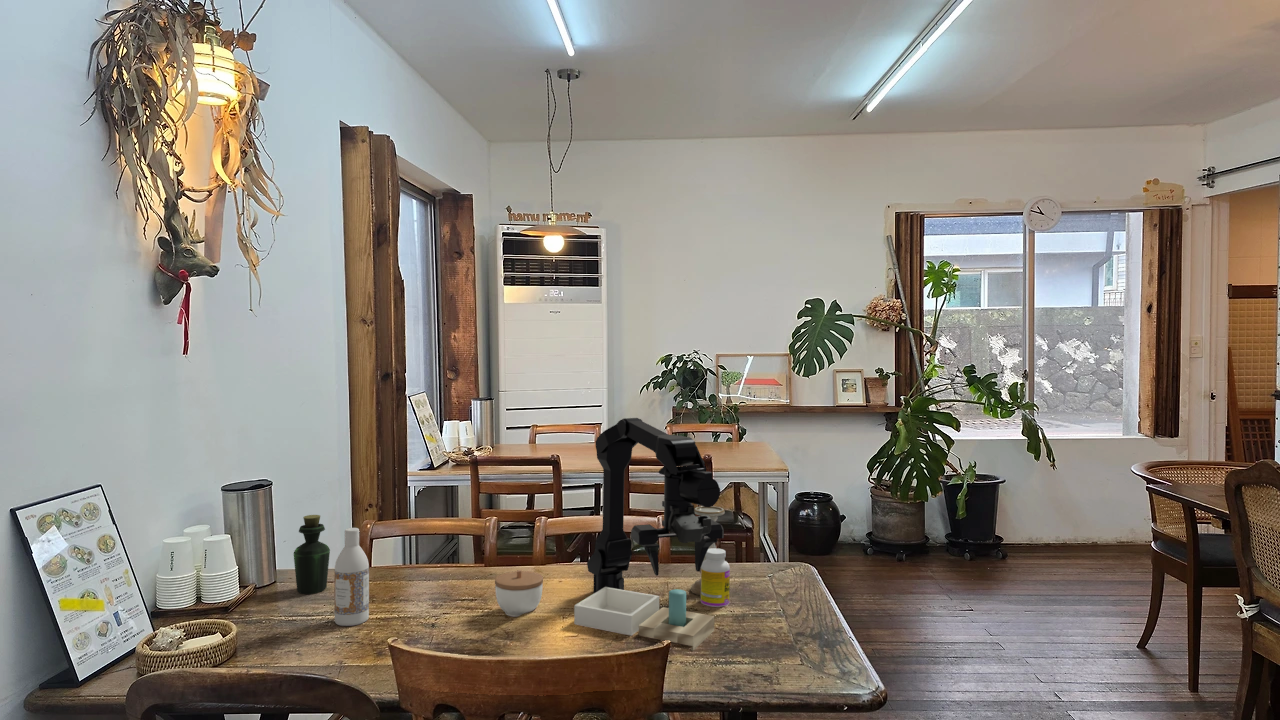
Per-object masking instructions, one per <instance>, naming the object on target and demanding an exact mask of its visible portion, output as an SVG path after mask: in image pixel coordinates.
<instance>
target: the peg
mask: <svg viewBox="0 0 1280 720" xmlns="http://www.w3.org/2000/svg"><path fill="white" fill-rule="evenodd" d="M668 608H669V624H670V625H675V626H681V627H685V626H686V611H687V591H685V590H684V589H680V588H679V589H671V590H669V591H668Z"/></svg>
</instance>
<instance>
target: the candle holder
mask: <svg viewBox="0 0 1280 720" xmlns="http://www.w3.org/2000/svg"><path fill="white" fill-rule="evenodd" d="M694 512H695V515H696V516H704V515H709V517H710V518H711V520H713V521H715V522H717V520H718V518H719V517H720V516H723V515H725V513H726V512H725V509H724V508H723V507H720V506H715V505H713V506H711V507H704V506H700V505H699V506H696V507H694ZM716 546H717V545H716V543H713V544H712V545H711V546H710V547H709V549H711V548H717V547H716ZM705 560H706V556H705V558H704V560H703V561H705ZM699 573H700V574H701V568H700V571H699ZM690 592H691V593H692V594H694V595H696V596H700V597H701V578H699V579H696V580H695V582H694V583H692V584H691V586H690Z"/></svg>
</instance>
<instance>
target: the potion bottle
mask: <svg viewBox="0 0 1280 720" xmlns="http://www.w3.org/2000/svg"><path fill="white" fill-rule="evenodd" d="M302 519H303V522H304V524H303V525H301V526H300V527H299V529H298V533H299V534H300V533H301V534H303V538H304V540H305V541H304V543H302V544H300V545H299V546H297V547H296V548H295V550H294V551H293V554H292V555H293V562H294V572H295V573H294V574H295V582H296V591H297V592H298V593H299V594H302V595H313V594H318V593H322V592H323V591H325V590H326V589H327V584H328V575H329V564H330V551H331V549H330V547H329V546H328V544H327V543H324V542H321V541H319V539H320V536H321V533H322V532H324V531H325V530H326V528H325V525H324V524H323V523H320V519H321V515H320V514H307V515H305V516H303V518H302Z"/></svg>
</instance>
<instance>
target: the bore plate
mask: <svg viewBox="0 0 1280 720" xmlns="http://www.w3.org/2000/svg"><path fill="white" fill-rule="evenodd" d="M714 631H715V615H710V614H705V613H700V612H693V611H688V610H686V626H685V627H681V626H675V625H670V624H669V607H661V608H659V610H658V611H657V612H656V613H654V614H653V615H652V616H650V617H649V618H648V619H647V620H645V621H644V622H643V623H641V624H640V625H639V630H638V636H639V637H643V638H644V637H645V638H650V639H655V640H660V641H664V640H670V641H671V642H670V643H675V644H680V645H684V646H685V645H686V646H689V647H691V648H690V649H689V651H691V652H694V651H695V650H696V649H697V648H698V647H699V646H700V645H701V644H702V643H703V642H704V641H705V640H706V639H707V638H709V636H710V635H711V634H712V633H713V632H714Z"/></svg>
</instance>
